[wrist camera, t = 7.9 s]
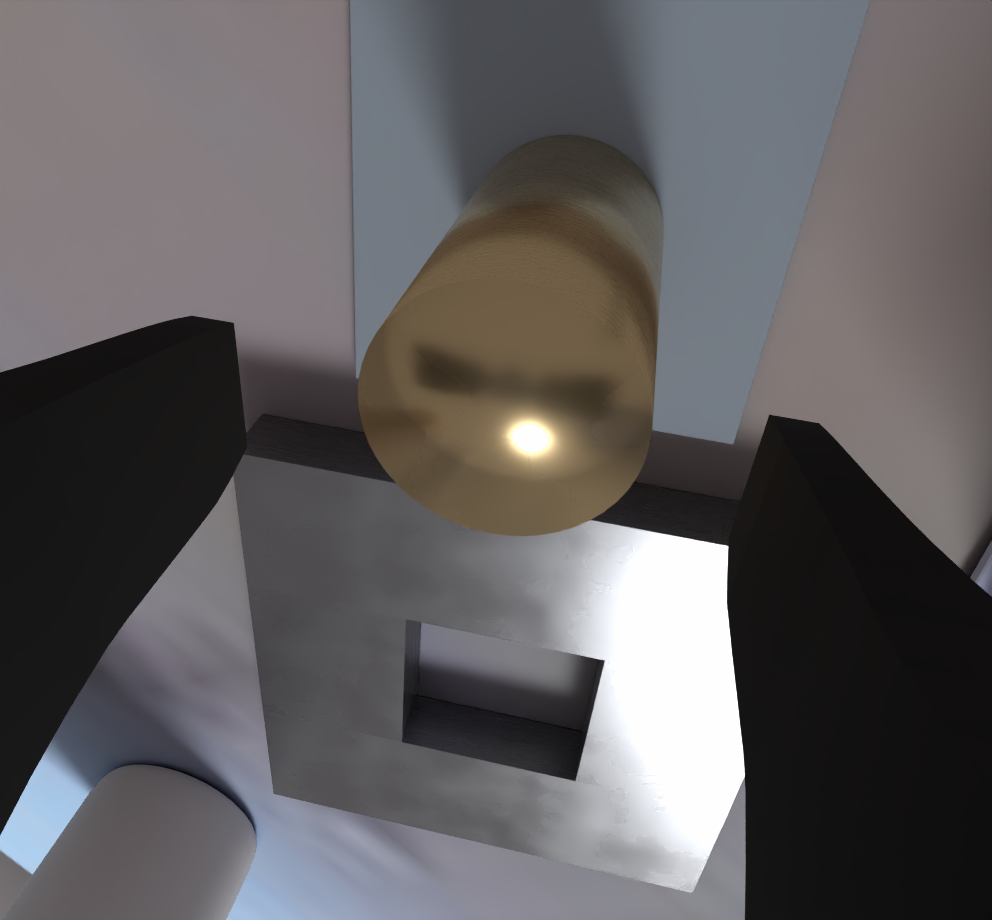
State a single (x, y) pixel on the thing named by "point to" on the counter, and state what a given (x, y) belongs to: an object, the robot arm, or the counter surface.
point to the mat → (621, 124)
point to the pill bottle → (143, 853)
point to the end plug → (526, 346)
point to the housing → (500, 614)
